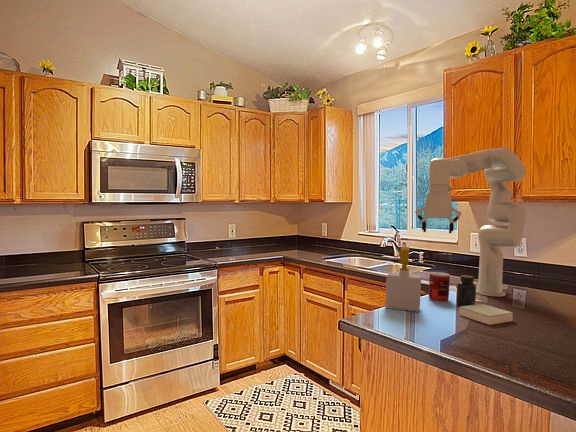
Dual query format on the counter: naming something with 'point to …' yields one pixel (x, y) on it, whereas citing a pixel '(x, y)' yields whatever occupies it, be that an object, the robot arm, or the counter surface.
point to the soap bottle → (403, 287)
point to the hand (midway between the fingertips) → (437, 232)
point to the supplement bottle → (466, 291)
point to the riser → (486, 314)
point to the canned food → (439, 286)
